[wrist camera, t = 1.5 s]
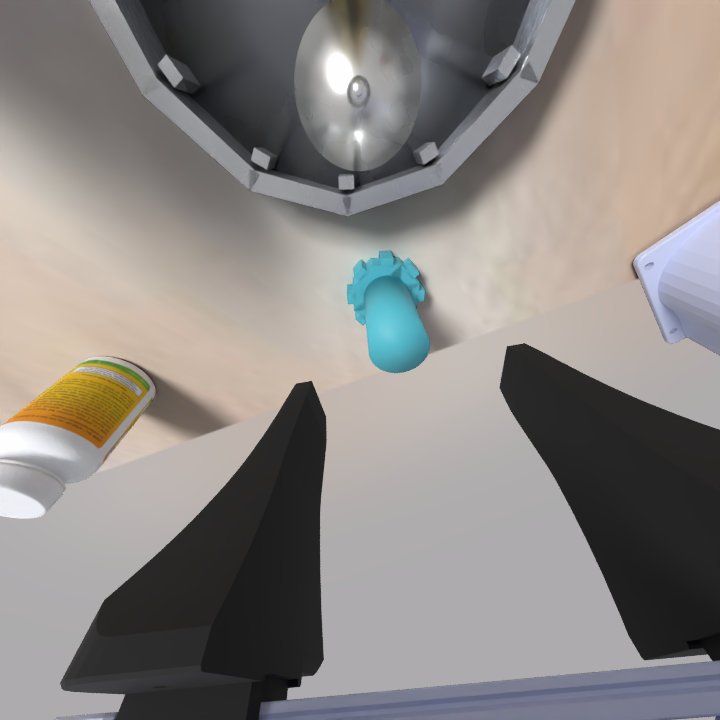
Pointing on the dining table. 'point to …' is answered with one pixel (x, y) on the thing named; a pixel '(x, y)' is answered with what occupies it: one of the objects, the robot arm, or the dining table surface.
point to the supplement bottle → (68, 433)
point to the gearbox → (336, 85)
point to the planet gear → (390, 311)
